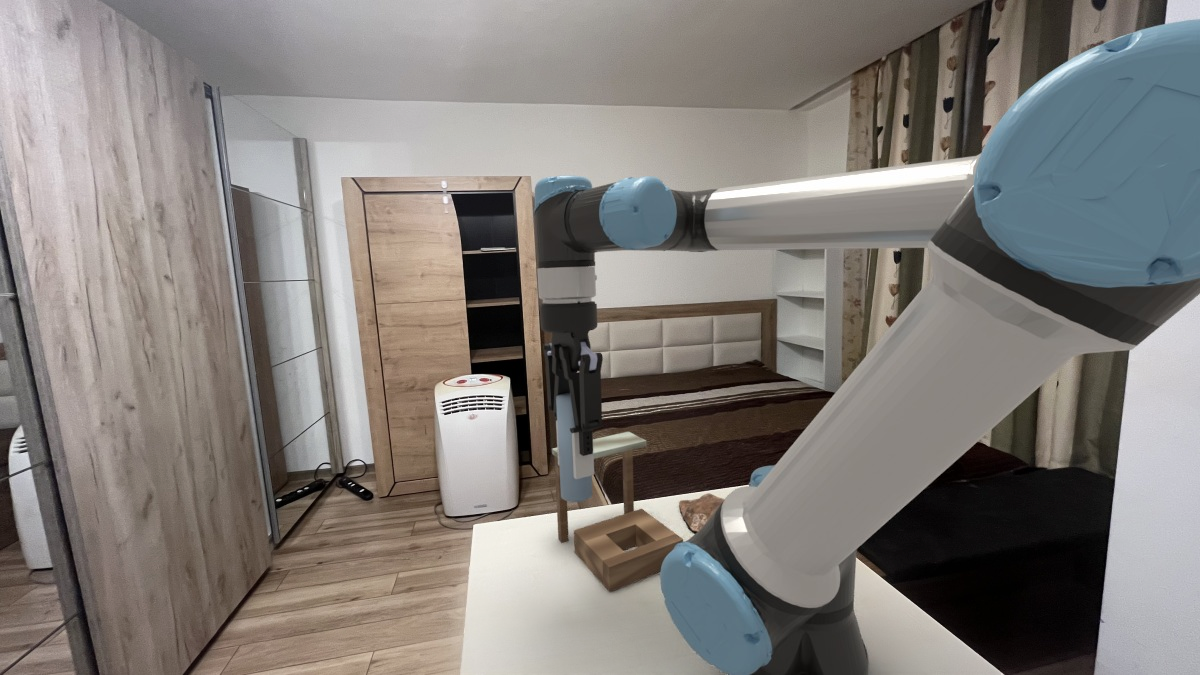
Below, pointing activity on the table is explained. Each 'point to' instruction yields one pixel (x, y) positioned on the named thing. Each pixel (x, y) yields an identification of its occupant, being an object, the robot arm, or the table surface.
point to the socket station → (618, 526)
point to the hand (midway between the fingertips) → (575, 469)
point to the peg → (569, 454)
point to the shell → (699, 511)
